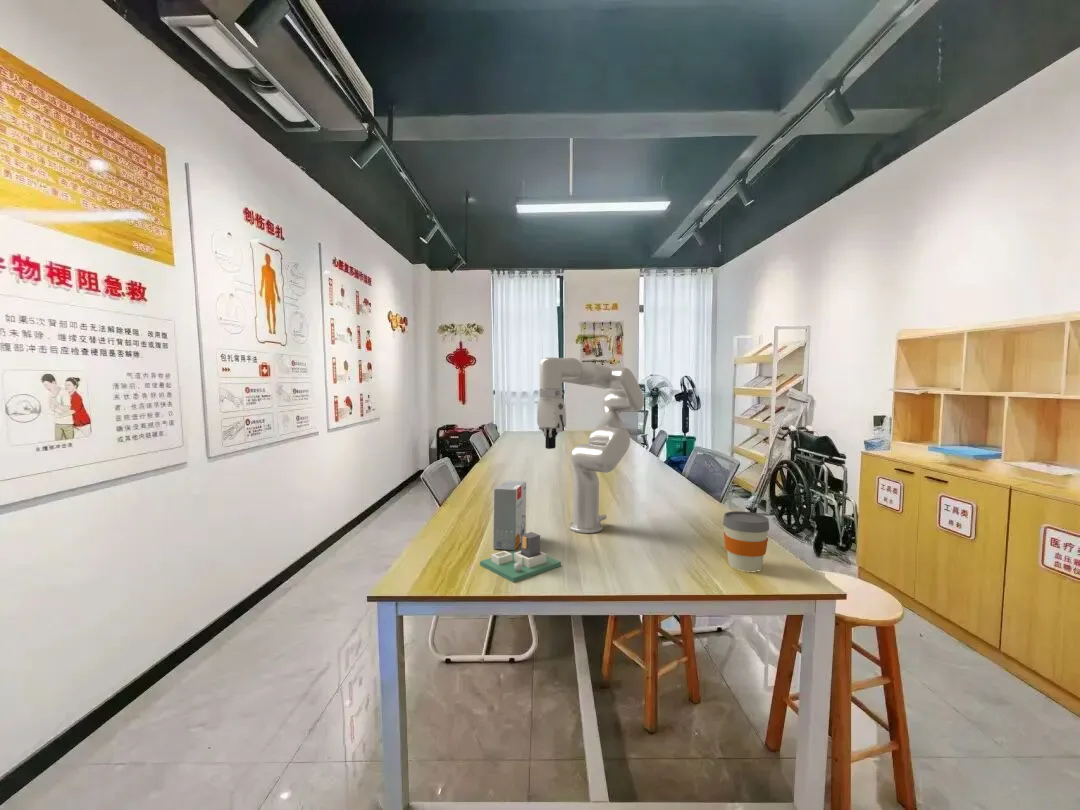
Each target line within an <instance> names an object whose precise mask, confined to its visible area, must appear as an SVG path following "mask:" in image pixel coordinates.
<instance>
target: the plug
mask: <svg viewBox="0 0 1080 810" xmlns="http://www.w3.org/2000/svg"><path fill="white" fill-rule="evenodd" d="M520 549H521V555H523V556H525V557H528V558H531V557H534V556H537V555H540V552H541V534H539V533H535V532H532V531H530V532H526V534H522V535H521V543H520Z"/></svg>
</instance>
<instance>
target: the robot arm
mask: <svg viewBox="0 0 1080 810" xmlns="http://www.w3.org/2000/svg"><path fill="white" fill-rule="evenodd" d="M563 383H566V384H575V385H579V386H586V387H591V388H592V387H593V388H597V389H598V388H599V389H603V390H609V391H608V392H606V393H605V394H604V396H603V400H602V403H603V404H602V405H603V406H602V407H603V417H602V419H601V420H600V421H599V422H598V424H597V425H596V426H595V428H593V430H592V431H591V432H590V435H589V436H588V439H587V442H588V443H579V444H576V446H574V447H573V448H572V450H571V452H570V461H571V467H572V474H573V475H572V478H573V479H572V480H573V485H572V487H573V490H572V491H573V493H572V494H573V500H572V501H573V503H572V505H573V508H572V509H573V511H572V512H573V513H572V514H573V516H572V517H573V518H572V519H573V520H572V521H571V522H569V524H568V528H569V530H570V531H573V532H576V533H581V534H595V533H599V532H602V530H604V529H603V528H604V525H603V524H602V523H601V522H602V521H605V520H607V515H606V514H604V513H603V514H600V511H599V510H600V508H599V507H600V502H599V501H600V481H599V480H600V479H599V477H598V474H597V472H599V473H602V474H603V473H605V474H607V473H611V472H612V471H614V470H615V469H616V467H617V466H618V464H619V463H620V462H621V460H623V457H624V456H625V455H626V454H627V451H628V450H629V447H630V444H631V436H630V433H629V431H628V430H627V429H625V428H623V425H624V424H623V420H622V418H621V416H620V413H619V412H625V413H626V412H627V413H637V412H639V411H641V410H642V409H643V407H644V405H645V396H644V394H643V391H642V389H641V387H640V384H639V382H638V380H637V378H636V377H635V375H634V373H633V372H632V370H631V369H630V368H628V367H609V366H604V365H601V364H596V363H593V362H581V361H580V360H579V359H577V358H575V357H543V358H541V359H540V361H539V399H538V403H537V404H538V405H537V410H536V411H537V413H536V416H537V417H536V420H537V421H536V422H537V425H538V429H539V431H542V432H543V436H544V437H545V443H544V444H545V447H544V448H545V449H546V450H551V449H552V450H553V449H556V448H557V447H556V446H557V445H556V439H557V438H556V437H558V434H559V433H562V432H563V431H564V428H565V427H566V426H567V425H566V424H567V417H566V416H567V414H566V413H567V412H566V405H565V399H564V398H563V394H564V392H563Z"/></svg>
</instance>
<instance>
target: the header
mask: <svg viewBox="0 0 1080 810" xmlns="http://www.w3.org/2000/svg"><path fill="white" fill-rule="evenodd" d="M546 556H547V553H544V552H542V551H540V555H537V556H534V557H531V558H528V557H525V556H523V555H521V551H519V552H516V553H514V562H517V563H521V564H522V566H525V567H527V568H530V567H533V566H536V565H539V564H542V563H545V562H546Z"/></svg>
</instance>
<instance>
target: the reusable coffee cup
mask: <svg viewBox="0 0 1080 810" xmlns="http://www.w3.org/2000/svg"><path fill="white" fill-rule="evenodd" d="M722 525H723V526H724V527H723V528H724V532H723V538H724V540H723V541H724V548H725V550H726V552H727V562H728V566H729V565H730V566H731V567H733V568H736V569H740V570H745V571H757V570H760V569H761V570H762V568H763V567H762V566H763V562H764V556H765V555H766V553H767V547H768V542H769V538H768V532H769V530H770V522H769V518H768V517H767V516H766V515H763V514H761V513H756V512H751V511H750V512H749V511H742V510H741V511H740V510H739V511H738V510H737V511H736V510H735V511H727V512H724V514H723V521H722ZM730 566H729V567H730ZM731 567H730V568H731Z"/></svg>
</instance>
